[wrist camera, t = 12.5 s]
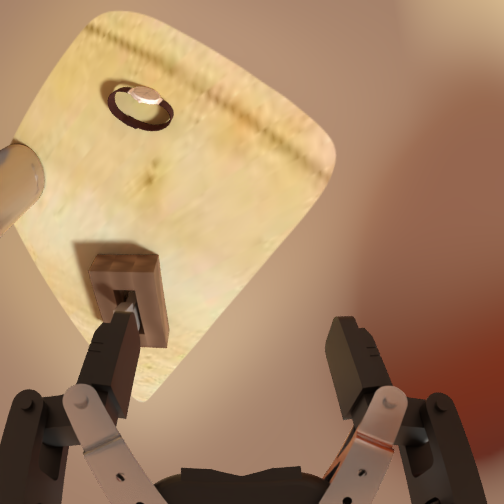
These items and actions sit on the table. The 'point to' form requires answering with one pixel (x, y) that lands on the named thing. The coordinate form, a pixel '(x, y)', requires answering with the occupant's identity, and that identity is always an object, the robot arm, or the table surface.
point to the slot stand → (146, 288)
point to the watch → (143, 96)
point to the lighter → (130, 307)
